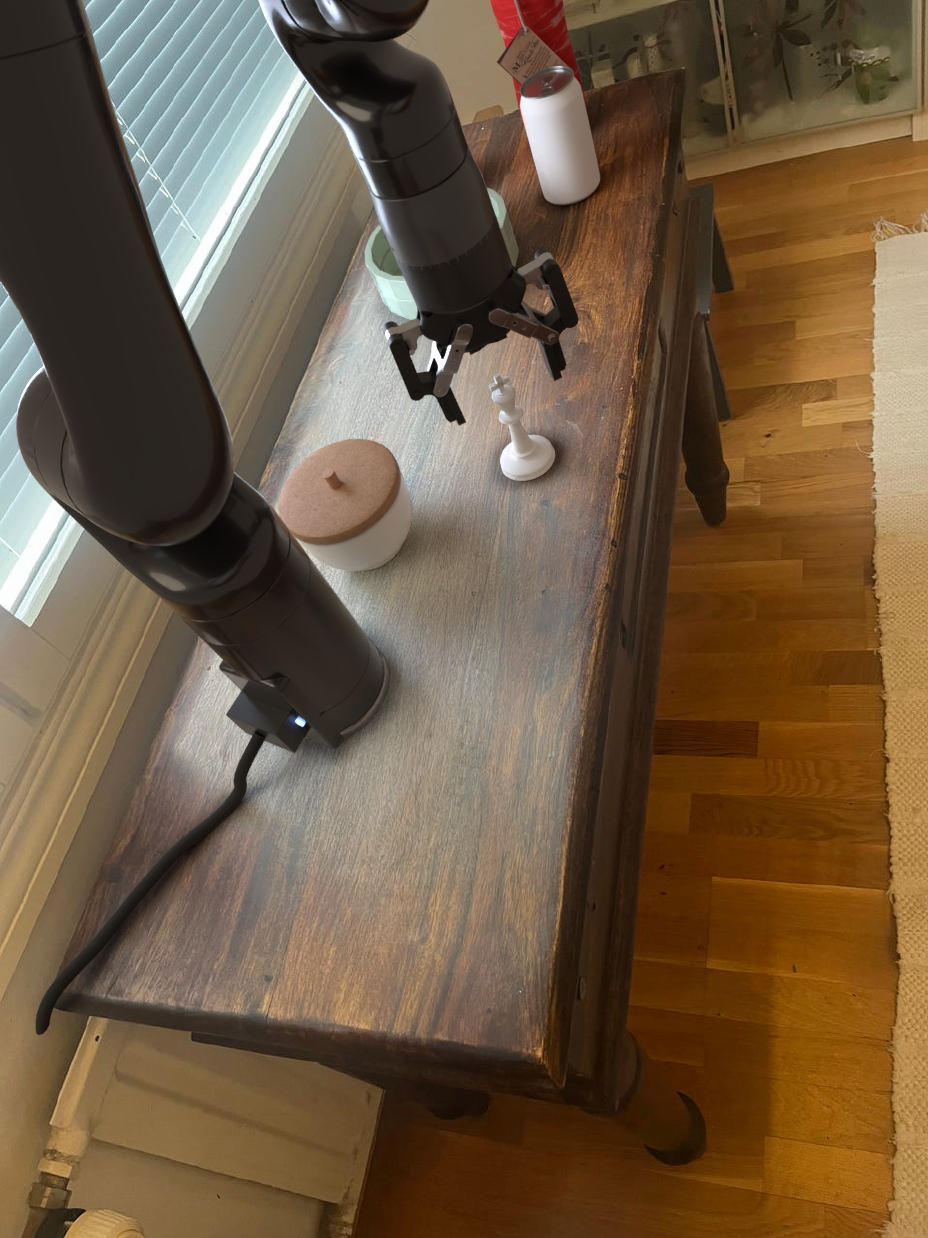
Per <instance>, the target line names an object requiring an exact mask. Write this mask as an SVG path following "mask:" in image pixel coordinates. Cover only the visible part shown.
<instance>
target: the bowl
mask: <svg viewBox="0 0 928 1238" xmlns="http://www.w3.org/2000/svg"><path fill="white" fill-rule="evenodd" d="M487 190H488V193H489V196H490V199H491V202H492V205H493V208H494V211H495V214H496V217H497V220H498V223H499V226H500V229H501V232H502V235H503V238H504V241H505V244H506V247H507V250H508V253H509V256H510V259H511V262H512V265H513V266H515V267H516V266H517V263H518V257H519V252H520V250H519V249H520V248H519V246H518V243H517V239H516V236H515V232H514V229H513V227H512V223H511V220H510V216H509V213H508V210H507V207H506V206H507V205H506V203H505V199H504V198H503V197H502V196H501V195H500V194H499V193H497V192H496V191H495V190H494V189H493V188H490V187H487ZM364 260H365V265H366V266H365V267H366V269H367V270H368V272H369V274H370V277H371V278H372V281H373V283H374V286H375V287H376V289H377V291H378V294H379V295H380V298H381V300H382V302H383V303H384V305H385V306H386V307H387V308H388V310H389V311H390V312H391V313H393V314H395V315H397V316H399V317H401V318H404V319H406V320H408V321H411V320H414V319H416V317H417V306H416V303H415V301H414V299H413V297H412V294H411V292H410V290H409V288H408V286H407V283H406V281H405V279H404V277H403V274H402V272H401V270H400V268H399V266H398V263H397V261H396V259H395V257H394V254H393V252H392V250H391V248H390V245H389V244H388V242H387V241H386V239H385V237H384V233H383V230H382V228H381V225H380V223H378V224H377V226H376V228H375V229H374V230H373V232H372V233H371V234H370V235H369V238H368V241H367V243H366V246H365V249H364Z"/></svg>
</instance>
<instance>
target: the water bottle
mask: <svg viewBox="0 0 928 1238" xmlns="http://www.w3.org/2000/svg"><path fill="white" fill-rule="evenodd" d="M489 3H490V5H491V9H492V12H493V16H494V17H495V19H496V24H497V26H498V29H499V31H500V34H501V37H502V40H503V43H504V47H505V49H504V51H503V52H502V54H501V55H500V57H499V58H498V59H497V60H496V63H497V64H498V65H499V66H500V67H501V68H502V69H503V70H504V71H505V72H506V73H508V74H509V75H510V76H511V77H512V81H513V87H514V92H515V97H516V103H517V107H518V112H519V114H520V117H521V121H522V124H523V128H524V129H525V125H524V122H523V118H522V114H521V109H520V101H521V94H520V87H521V85H522V83H523V82H524V81H525V80H526V79H527V78H528V77H529V76H531V75H532V74H534V73H536V72H537V71H540V70H542V69H545V68H548V67H552V66H567V67H570V68H571V69H572V70H573V72H574V77H575V78H576V79H577V81H578V82H579V84H580V86H581V89H582V93H583V98H584V102H585V107H586V110H587V109H588V108H587V102H586V97H585V92H584V87H583V82H582V77H581V74H580V70H579V66H578V62H577V59H576V56H575V55H576V54H575V52H574V49H573V45H572V41H571V38H570V34H569V29H568V25H567V20H566V14H565V7H564V0H489Z"/></svg>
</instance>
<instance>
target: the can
mask: <svg viewBox="0 0 928 1238" xmlns="http://www.w3.org/2000/svg"><path fill="white" fill-rule="evenodd" d="M520 94H521V101H520V109H521V114H522V118H523V121H522V123H523V122H524V125H525V128H524V130H525V132H526V133H525V134H526V136H527V140H528V143H529V147H530V151H531V154H532V155H531V156H532V159H533V162H534V166H535V169H536V170H535V171H536V173H537V177H538V180H539V184H540V187H541V191H542V194H543V197H544V199H545V200H546V201H547V202H549V203H550V204H552V205H554V206H562V207H563V206H571V205H575V204H577V203H580V202H582V201H584V200H586V199H587V198H590V197H591V196H592V195H593V194H594V192H595V191H596V190H597V189H598V186H599V185H600V182H601V173H600V168H599V164H598V163H599V162H598V159H597V154H596V149H595V145H594V140H593V135H592V131H591V126H590V121H589V116H588V111H587V109H586V107H587V106H586V107H585V102H586V101H585V102H584V98H583V93H582V89H581V86H580V84H579V82H578V81H577V79H576V78H575V77H574V72H573V70H572V69H571V68H570V67H567V66H552V67H548V68H545V69H542V70H540V71H537V72H536V73H534V74H532V75H531V76H529V77H528V78H527V79H526V80H525V81H524V82H523V83H522V85H521V87H520ZM521 114H520V115H521ZM522 118H521V119H522ZM524 125H523V126H524Z"/></svg>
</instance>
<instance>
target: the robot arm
mask: <svg viewBox="0 0 928 1238" xmlns="http://www.w3.org/2000/svg"><path fill="white" fill-rule="evenodd" d="M256 1H257V3H258V6H259V9H260V10H261V13H262V15H263V18H264V19H265V21H266V24H267V26H268V27H269V29H270V31H271V33H272V34H273V36H274V37H275V39H276V41H277V42H278V44H279V45H280V47H281V48H282V50H283V51H284V53H285V54H286V56H287V57H288V58H289V60H290V62H291V63H292V64H293V66H294V67H295V68H296V70H297V72H298V73H299V74H300V75H301V77H302V78H303V80H304V81H305V82H306V83H307V85H308V86H309V88H310V89H311V90H312V92H313V93H314V95H315V97H316V98H317V99H318V101H319V102H320V103H321V104H322V105H323V106H324V108H325V109H326V110H327V111H328V113H329V114H330V115H331V116H332V117H333V118H334V120H335V122H337V124H338V125H339V127H340V128H341V130H342V132H343V133H344V137H345V139H346V141H347V144H348V146H349V149H350V151H351V154H352V155H353V158H354V160H355V162H356V165H357V167H358V169H359V172H360V173H361V175H362V178H363V180H364V183H365V185H366V186H367V188H368V192H369V194H370V197H371V200H372V203H373V207H374V210H375V214H376V217H377V220H378V224H380V225H381V228H382V230H383V233H384V237H385V239H386V241H387V242H388V244H389V245H390V248H391V250H392V252H393V254H394V257H395V259H396V261H397V263H398V266H399V268H400V270H401V272H402V274H403V277H404V279H405V281H406V283H407V286H408V288H409V290H410V292H411V294H412V297H413V299H414V301H415V303H416V306H417V317H416V319H414V320H408V321H406V322H405V323H402V324H400V325H399V324H398V323H397V322H396V321H393V320H391V321H387V322H385V324H384V325H383V327H382V332H383V335H384V337H385V339H386V342H387V345H388V347H389V350H390V353H391V355H392V357H393V359H394V362H395V364H396V367H397V369H398V372H399V374H400V376H401V380H402V381H403V384H404V386H405V388H406V391H407V393H408V396H409V398H410V399H411V400H412V401H414V402H418V401H421V400H422V399H424V397H425V396H432V397H434V398H435V399H436V402H437V403H438V405H439V407H440V409H441V411H442V414H443V416H444V418H445V420H446V421H448V422H449V423H453V422H455V421H456V423H457V425H458V427H459V426H462V425H464V424H466V423H467V421H466V418H465V416H464V414H463V412H462V409H461V407H460V404H459V402H458V401H457V398H456V396H455V393H454V391H453V389H452V388H451V384H452V381H453V378H454V375H455V374H457V373H458V372H459V369H460V366H461V363H462V360H463V357H464V355H465V354H469V355H470V356H471V355H474V354H476V353H478V352H480V351H481V350H483V349H484V348H485V347H486V346H488V345H490V344H495V343H498V342H502V341H504V340H506V339H507V338H508V334H510V332H511V331H512V332H514V333H516V334H519V335H521V336H522V337H524V338H527V339H531V338H533V339H535V340H536V341H537V343H538V346H539V347H538V348H539V350H540V352H541V356H542V358H543V362H544V365H545V367H546V369H547V372H548V373H549V375H550V377H551V379H552V380H553V382H556V381H558V380H560V379H563V375H562V371H565V370H566V368H567V361H566V358H565V355H564V352H563V348H562V345H561V342H560V336H561V334H562V333H563V331H566V329H573V328H575V327H577V325H578V323H579V321H580V318H579V316H578V312H577V310H576V307H575V304H574V302H573V298H572V296H571V293H570V291H569V288H568V284H567V281H566V280H565V277H564V274H563V271H562V268H561V266H560V265H559V264H558V261H557V260H556V259H555V257H554V255H553V254H552V252H551V251H550V249H549V248H547V247H540V248H538V249H537V250H536V251H535V253H534V257H533V258H534V260H532V261H530V262H528V263H527V264H524V265H522V266H521V267H519V268H518V267H516V266H513V265H512V262H511V259H510V256H509V253H508V250H507V247H506V244H505V241H504V238H503V235H502V232H501V229H500V226H499V223H498V220H497V217H496V214H495V211H494V208H493V205H492V202H491V199H490V196H489V193H488V190H487V188H488V187H487V185H486V181H485V178H484V176H483V173H482V171H481V169H480V166H479V164H478V163H477V161H476V159H475V157H474V155H473V153H472V151H471V148H470V146H469V143H468V141H467V137H466V134H465V131H464V127H463V125H462V123H461V122H462V121H461V119H460V117H459V114H458V111H457V107H456V105H455V102H454V98H453V96H452V92H451V90H450V88H449V86H448V82H447V79H446V78H445V76H444V75H443V72H442V70H441V69H440V67H439V66H438V65H437V64H436V63H435V62H434V61H433V60H431V59H430V57H427V56H424V55H423V54H421V53H418V52H416V51H414V50H411V49H409V48H407V47H405V46H404V45H402V44H401V43H399V42H398V41H397V40H396V39H397V38H399V37H402V36H404V35H405V34H406V33H408V32H410V31H411V30H412V29H413V28H414V27H415V26H416V25H417V24H418V22H419V21H420V20H421V18H422V17H423V15H424V14H425V12H426V9H427V7H428V5H429V2H430V0H256ZM135 172H136V171H135V169H134V166H133V162H132V160H131V157H130V154H129V151H128V147H127V144H126V142H125V138H124V136H123V132H122V129H121V126H120V122H119V120H118V116H117V113H116V110H115V107H114V104H113V100H112V98H111V95H110V91H109V87H108V84H107V80H106V77H105V73H104V70H103V66H102V62H101V59H100V55H99V50H98V47H97V43H96V40H95V35H94V32H93V29H92V28H91V23H90V19H89V16H88V13H87V10H86V6H85V3H84V0H0V284H1V286H2V287H3V289H4V291H5V292H6V293H7V295H8V297H9V298H10V300H11V301H12V303H13V304H14V306H15V308H16V310H17V311H18V313H19V315H20V317H21V319H22V321H23V323H24V325H25V326H26V328H27V330H28V333H29V334H30V336H31V338H32V342H33V343H34V345H35V348H36V350H37V352H38V354H39V357H40V360H41V362H42V365H43V366H42V367H41V368H40V369H39V370H38V371H37V372H36V373H35V374H34V375H33V376H32V377H31V378H30V380H29V381H28V383H27V384H26V386H25V387H24V389H23V392H22V394H21V397H20V399H19V402H18V405H17V406H18V407H17V411H16V420H15V430H16V431H15V432H16V438H17V444H18V448H19V451H20V455H21V457H22V460H23V462H24V463H25V466H26V467H27V469H28V471H29V473H30V474H31V476H32V477H33V478H34V479H35V481H36V482H37V483H38V484H39V485H40V487H41V488H42V489H43V490H44V491H45V492H46V494H48V495H49V496H50V497H51V498H52V499H53V500H54V501H55V502H56V503H57V504H58V505H59V506H60V507H61V508H62V509H63V510H64V511H65V512H66V513H67V514H68V515H69V516H70V517H71V518H72V519H73V520H75V521H76V523H78V524H79V525H80V526H81V527H82V528H83V529H84V530H85V531H86V532H87V533H88V534H89V535H90V536H91V537H92V538H93V539H94V540H95V541H96V542H97V543H99V545H100V546H102V548H104V549H105V550H106V551H107V552H108V553H109V554H110V555H111V556H112V558H114V559H115V560H116V561H117V562H118V563H119V564H120V565H121V566H122V567H124V568H125V569H126V570H127V572H129V573H130V574H131V575H133V576H134V577H135V578H136V579H137V580H139V581H140V582H141V583H142V584H143V585H144V586H145V587H147V588H148V589H149V590H150V591H151V592H152V593H154V594H155V595H156V596H157V597H158V598H159V599H160V600H161V601H163V602H164V603H165V604H166V605H167V606H168V607H169V608H170V609H171V610H172V611H173V612H174V613H175V614H176V615H177V616H178V617H179V618H180V619H181V620H182V621H183V622H184V623H185V624H186V625H187V626H188V627H189V628H190V629H191V630H192V631H193V632H194V633H195V634H196V635H197V636H198V637H199V638H200V639H201V640H202V641H203V642H204V643H205V644H206V646H207V647H209V648H210V649H211V650H212V651H213V652H214V653H215V654H216V655H217V656H218V657H219V658H220V659H221V662H220V664H219V666H218V668H219V671H220V672H221V673H223V675H225V677H226V678H228V680H230V681H231V683H232V684H233V685H234V686H235V687H237V688H238V689H239V690H240V692H239V694H238V695H237V697H236V698H235V700H234V701H233V703H232V704H231V706H230V707H229V709H228V710H227V712H226V713H225V716H226V717H227V718H229V719H230V720H231V721H232V722H233V723H234V724H235V725H236V726H237V727H238V728H239V729H241V730H242V731H243V732H244V733H245V734H247V735H249V736H251V738H250V739H249V741H248V743H247V745H246V747H245V749H244V751H243V753H242V755H241V757H240V759H239V761H238V763H237V766H236V768H235V771H234V774H233V789H232V790H231V792H230V794H229V795H228V796H227V797H226V799H225V800H224V801H223V802H222V803H221V804H220V805H219V807H218V808H217V809H216V810H215V811H213V812H212V813H211V814H210V815H209V816H208V817H206V818H205V819H204V820H203V821H201V822H200V823H199V824H197V825H196V826H195V827H194V828H193V829H191V830H190V831H189V832H188V833H186V834H185V835H184V836H182V838H181V839H179V840H178V841H176V843H175V844H174V845H173V846H172V847H171V848H169V850H167V851H166V852H165V853H164V854H163V856H161V858H160V859H159V860H158V861H157V862H156V863H155V864H154V865H153V867H152V868H151V869H150V870H149V871H148V872H147V873H146V874H145V875H144V876H143V877H142V879H141V880H140V881H139V882H138V883H137V885H135V887H134V888H133V889H132V891H130V893H129V894H128V896H126V898H125V899H124V901H123V902H122V903H121V904H120V905H119V907H118V908H117V909H116V910H115V912H114V913H113V914H112V915H111V917H110V918H109V919H108V920H107V922H105V924H104V926H103V927H102V928H101V929H100V931H99V932H98V933H97V934H96V935H95V936H94V937H93V939H92V940H91V941H90V942H89V943H88V944H87V945H86V947H85V948H84V949H83V950H82V951H80V953H79V954H78V955H77V956H76V957H75V958H73V960H72V961H71V962H70V963H69V964H68V965H67V966H66V967H65V968H64V969H63V970H62V971H61V973H60V974H59V975H58V976H56V978H55V979H54V981H53V982H52V983H51V985H50V986H49V987H48V988H47V990H46V992H45V993H44V994H43V996H42V999H41V1001H40V1003H39V1005H38V1008H37V1011H36V1014H35V1015H36V1016H35V1034H36V1035H38V1036H41V1035H43V1034H45V1032H46V1031H47V1030H48V1029H49V1026H50V1024H51V1017H52V1014H53V1011H54V1008H55V1006H56V1003H57V1002H58V1000H59V998H60V997H61V996H62V995H63V992H64V991H65V990H66V989H67V988H68V987H69V985H70V984H71V983H72V982H73V981H74V980H75V979H76V977H78V975H79V974H80V973H81V972H83V970H84V969H85V968H86V967H87V966H88V965H89V964H90V963H91V962H92V961H93V960H94V959H95V958H96V956H98V955H99V953H101V951H102V950H103V949H104V948H105V946H107V944H108V943H109V942H110V941H111V940H112V938H113V937H114V936H115V934H116V933H117V932H118V930H120V928H121V927H122V926H123V924H124V923H125V922H126V920H127V919H128V918H129V917H130V916H131V914H132V913H133V912H134V910H136V908H137V906H138V905H139V904H140V903H141V902H142V901H143V899H144V898H145V897H146V896H147V895H148V893H149V892H150V891H151V889H153V887H154V886H155V885H156V883H158V882H159V880H160V879H161V878H162V877H163V876H164V875H165V874H166V873H167V872H168V870H170V868H171V867H172V866H173V865H175V863H176V862H177V861H178V860H179V859H180V858H181V857H182V856H183V855H184V854H185V853H186V852H187V851H189V850H190V849H191V848H192V847H193V846H194V845H196V844H197V843H198V842H200V840H202V839H203V838H205V836H207V835H208V834H209V833H210V832H212V830H214V829H215V828H216V827H217V826H219V825H220V823H222V822H223V821H224V820H225V819H226V818H227V817H228V816H230V814H231V813H232V812H234V810H236V808H237V807H238V806H239V804H241V802H242V800H243V798H244V797H245V796H246V793H247V789H248V780H247V779H248V775H249V773H250V769H251V767H252V766H253V763H254V761H255V759H256V757H257V755H258V754H259V752H260V750H261V748H262V746H263V744H264V742H267V743H269V744H271V745H273V746H276V747H278V748H281V749H284V750H286V751H288V752H290V753H293V754H296V753H297V751H298V749H300V746H301V745H302V743H303V742H304V740H306V741H312V742H314V743H317V744H319V745H322V746H325V747H327V748H330V749H332V750H335V749H337V748H338V747H339V745H340V744H341V742H342V741H343V739H344V738H345V737H347V736H349V735H352V734H354V733H355V732H356V731H359V730H360V729H362V727H364V726H365V725H366V724H367V723H369V722H370V720H371V719H372V718H373V717H374V716H375V715H376V714H377V712H378V711H379V709H380V708H381V706H382V705H383V702H384V701H385V699H386V696H387V693H388V690H389V684H390V669H389V664H388V661H387V660H386V657H385V655H384V654H383V653H382V651H381V650H380V649H379V647H378V646H377V645H376V644H374V642H373V640H372V639H371V638H370V637H369V636H368V635H367V633H366V632H365V630H364V629H363V628H362V626H361V625H360V624H359V622H358V621H357V620H356V618H355V616H353V614H352V613H351V611H350V610H349V609H348V607H347V606H346V605H345V603H344V602H343V601H342V599H341V598H340V597H339V595H338V593H336V591H335V590H334V588H333V587H332V586H331V584H330V583H329V581H327V578H326V577H325V576H324V575H323V573H322V572H321V571H320V569H319V568H318V567H317V566H316V564H315V562H313V560H312V558H311V557H310V556H309V554H308V552H307V551H306V550H305V549H304V548H303V547H302V546H301V544H300V543H299V542H298V541H297V539H296V538H295V537H294V535H293V534H292V533H291V531H290V530H289V529H288V527H287V526H286V525H285V523H284V522H283V521H282V519H281V518H280V516H279V513H277V511H276V510H275V508H274V507H273V506H272V505H271V503H270V502H269V500H268V499H266V497H265V496H264V495H262V494H261V493H260V492H259V491H258V490H257V489H255V488H254V487H253V486H252V485H251V484H250V483H249V482H247V481H246V480H244V478H242V476H240V475H239V474H238V473H237V472H235V450H234V442H233V436H232V433H231V429H230V425H229V422H228V419H227V416H226V414H225V411H224V408H223V406H222V404H221V401H220V398H219V396H218V394H217V392H216V389H215V387H214V384H213V383H212V380H211V378H210V376H209V373H208V371H207V369H206V367H205V364H204V362H203V359H202V357H201V355H200V352H199V350H198V348H197V346H196V343H195V341H194V339H193V336H192V334H191V331H190V328H189V327H188V324H187V322H186V320H185V317H184V315H183V313H182V310H181V308H180V305H179V303H178V300H177V298H176V295H175V292H174V289H173V288H172V285H171V283H170V280H169V276H168V275H167V271H166V268H165V265H164V264H163V260H162V257H161V254H160V252H159V248H158V245H157V242H156V238H155V235H154V232H153V228H152V225H151V222H150V218H149V215H148V211H147V208H146V204H145V201H144V198H143V194H142V192H141V191H142V190H141V188H140V185H139V182H138V179H137V175H136V173H135ZM530 284H531V285H534V286H535V287H536V288H537V289H538V290H540V291H546V292H547V294H548V297H549V299H550V302H551V304H552V308H551V310H550V311H549V312H547V313H544V312H542V311H539V310H537V309H536V308H533V307H532V306H530V305H529V304H528V303H527V302H525V301H524V297H525V294H526V292H527V286H528V285H530ZM421 336H424V338H426V339H427V340H431V341H432V344H431V355H430V359H429V362H428V366H427V368H426V371H420V372H417V370H416V367H415V364H414V362H413V359H412V356H414V355H415V354H416V351H417V350H418V340H419V338H420V337H421Z"/></svg>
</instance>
